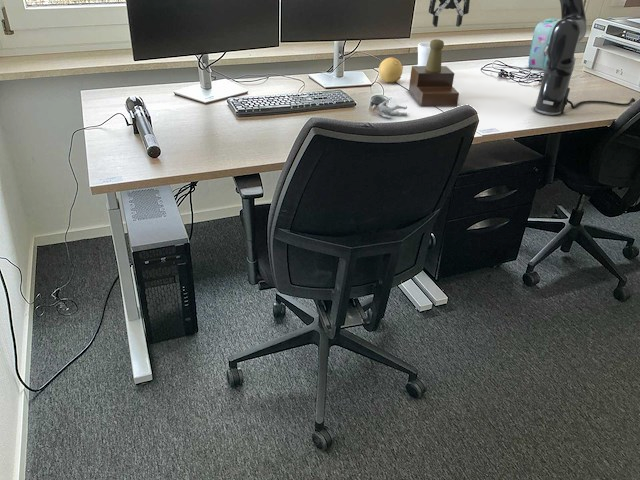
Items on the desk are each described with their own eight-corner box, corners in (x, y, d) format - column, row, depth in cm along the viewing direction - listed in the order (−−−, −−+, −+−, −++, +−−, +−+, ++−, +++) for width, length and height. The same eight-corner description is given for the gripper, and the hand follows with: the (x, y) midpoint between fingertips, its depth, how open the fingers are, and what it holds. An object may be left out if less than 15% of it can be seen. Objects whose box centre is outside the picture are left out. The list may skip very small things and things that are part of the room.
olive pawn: (443, 69, 209) (448, 39, 203) (437, 72, 205) (442, 42, 199) (429, 66, 212) (433, 37, 206) (422, 69, 208) (426, 40, 202)
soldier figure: (407, 121, 191) (377, 112, 187) (399, 126, 196) (370, 118, 191) (408, 101, 193) (378, 92, 189) (400, 107, 198) (371, 98, 193)
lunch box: (546, 74, 246) (559, 24, 234) (523, 69, 250) (535, 20, 238) (560, 61, 265) (572, 15, 253) (538, 58, 269) (550, 12, 257)
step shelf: (456, 106, 204) (461, 79, 199) (420, 106, 202) (424, 79, 197) (442, 91, 219) (446, 66, 213) (408, 91, 217) (411, 66, 212)
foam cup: (420, 71, 242) (424, 41, 235) (439, 75, 238) (444, 44, 231) (410, 75, 236) (414, 44, 228) (429, 80, 231) (434, 48, 224)
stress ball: (390, 86, 221) (392, 62, 216) (372, 81, 227) (374, 56, 222) (406, 82, 227) (409, 58, 221) (388, 77, 233) (391, 53, 227)
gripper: (468, -24, 194) (461, 24, 203) (430, -24, 192) (424, 24, 201) (476, -21, 188) (468, 28, 196) (436, -22, 186) (430, 28, 195)
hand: (446, 26), depth 199 cm, fingers open, 8 cm apart
